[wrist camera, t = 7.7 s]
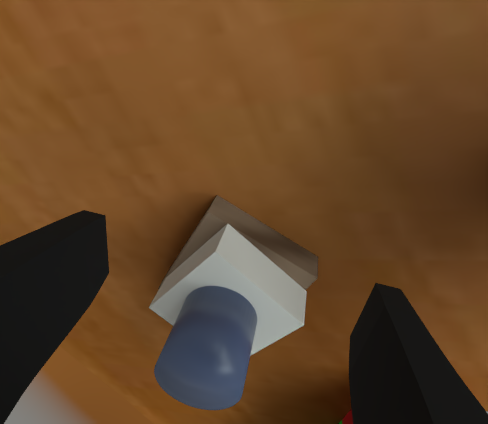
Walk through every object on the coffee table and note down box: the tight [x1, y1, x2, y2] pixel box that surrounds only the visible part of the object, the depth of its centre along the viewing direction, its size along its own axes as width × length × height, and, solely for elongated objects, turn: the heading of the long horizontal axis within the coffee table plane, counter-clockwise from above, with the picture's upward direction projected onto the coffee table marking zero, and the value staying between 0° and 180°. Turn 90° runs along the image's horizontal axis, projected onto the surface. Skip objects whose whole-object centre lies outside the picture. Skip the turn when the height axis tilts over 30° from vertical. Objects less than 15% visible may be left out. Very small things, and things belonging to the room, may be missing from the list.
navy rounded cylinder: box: [154, 286, 257, 410], centre depth 18 cm, size 4×4×4 cm
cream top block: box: [149, 224, 307, 356], centre depth 20 cm, size 6×6×2 cm
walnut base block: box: [158, 195, 318, 290], centre depth 22 cm, size 7×7×2 cm
